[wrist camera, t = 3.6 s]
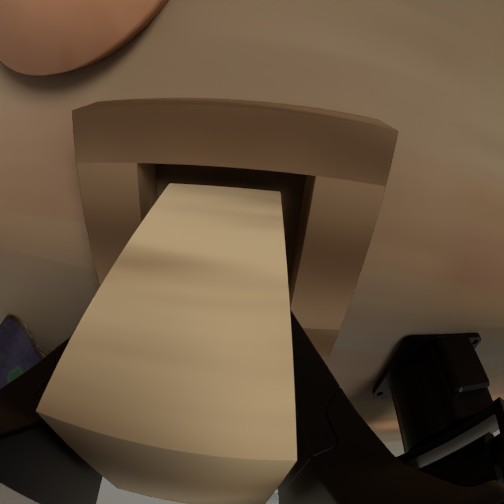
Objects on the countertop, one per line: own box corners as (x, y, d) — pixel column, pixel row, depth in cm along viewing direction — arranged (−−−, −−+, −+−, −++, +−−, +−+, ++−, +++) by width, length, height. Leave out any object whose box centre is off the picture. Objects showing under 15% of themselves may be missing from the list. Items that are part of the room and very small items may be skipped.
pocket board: (324, 327, 17) (329, 356, 15) (126, 308, 17) (114, 333, 15) (378, 119, 11) (398, 131, 9) (98, 101, 10) (71, 110, 9)
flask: (69, 387, 23) (32, 485, 14) (46, 381, 23) (8, 473, 14) (21, 314, 18) (-45, 431, 9) (-1, 310, 18) (-65, 415, 9)
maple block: (265, 298, 14) (260, 510, 6) (176, 289, 14) (117, 488, 6) (280, 191, 11) (296, 460, 4) (169, 183, 11) (35, 411, 4)
